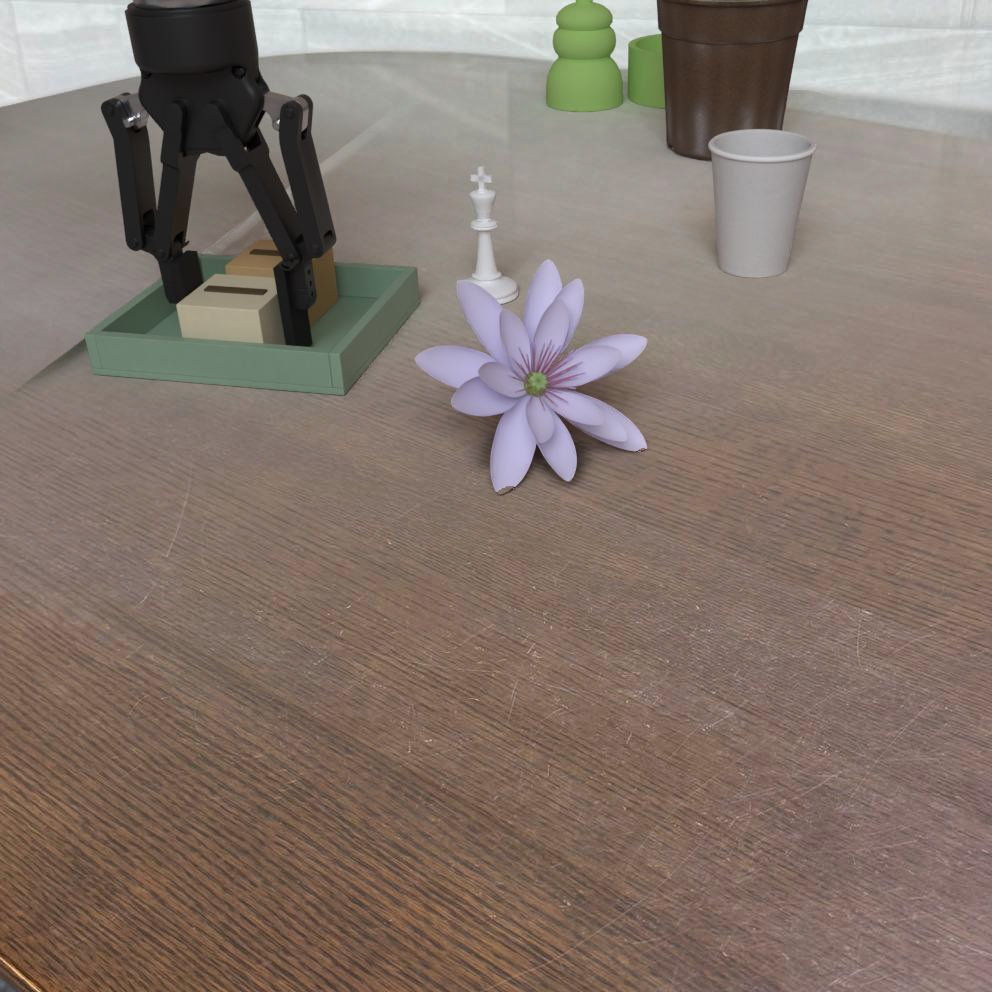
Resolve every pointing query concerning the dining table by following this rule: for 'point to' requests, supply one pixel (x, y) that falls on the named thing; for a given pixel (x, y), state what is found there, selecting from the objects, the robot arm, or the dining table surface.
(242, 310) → the beige slotted box
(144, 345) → the tray
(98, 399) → the dining table surface
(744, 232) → the dixie cup
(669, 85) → the plant pot
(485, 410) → the water lily
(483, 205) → the chess piece
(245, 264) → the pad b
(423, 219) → the dining table surface
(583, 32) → the green stacking toy
